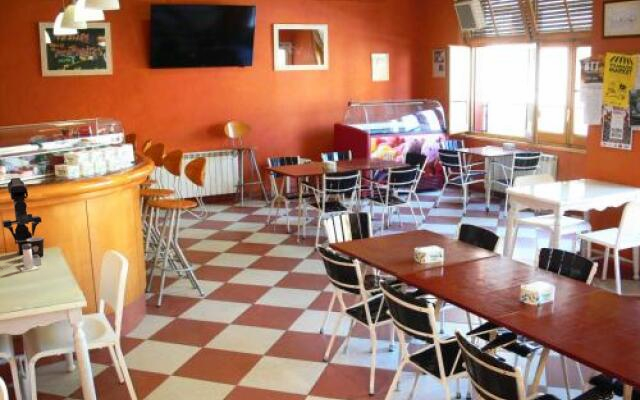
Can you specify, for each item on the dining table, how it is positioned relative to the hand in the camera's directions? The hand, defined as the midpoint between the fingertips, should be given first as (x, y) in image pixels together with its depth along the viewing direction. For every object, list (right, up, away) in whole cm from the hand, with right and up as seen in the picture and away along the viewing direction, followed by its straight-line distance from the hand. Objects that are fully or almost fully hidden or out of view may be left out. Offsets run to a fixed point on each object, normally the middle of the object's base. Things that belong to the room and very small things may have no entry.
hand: (23, 237), depth 353 cm
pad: (+9, -16, -13) cm, 22 cm away
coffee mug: (+1, -12, +10) cm, 15 cm away
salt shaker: (+9, -15, -13) cm, 22 cm away
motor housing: (+7, -14, -5) cm, 16 cm away
